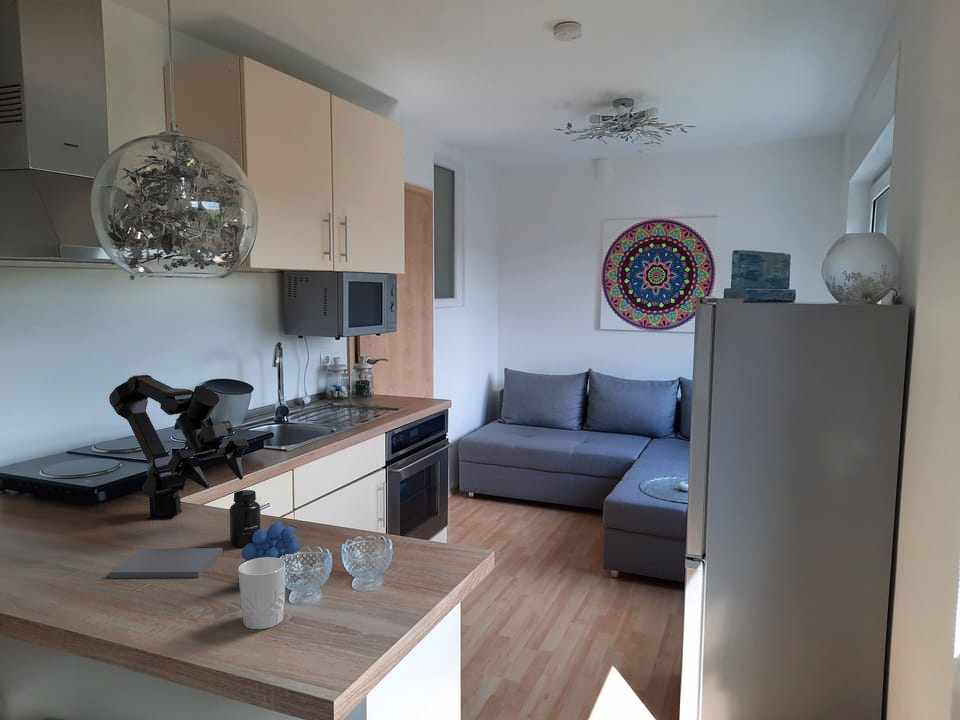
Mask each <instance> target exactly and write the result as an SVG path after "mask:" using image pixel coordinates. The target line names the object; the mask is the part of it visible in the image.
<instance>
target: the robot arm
mask: <svg viewBox="0 0 960 720" xmlns="http://www.w3.org/2000/svg"><path fill="white" fill-rule="evenodd" d="M148 399H151V400H153V401H155V402H157V403H159V405H160V406H159V407H160V410H162V411H163V412H164V413H165V414H166V415H168V416H173V415H178V418H176V419H175V424H174V427H173V428H174V430H175V431H178V430H180V431H181V433H182V435H183V436H184V438H185V440H186V441H185V443H184V445H185V447H186V448H185V449H183V448H182V449H179V450H176V451H175V452H174V453H173V454H171V455H170V454H168V452H167V450H166V449H165V446H164V444H163V442H162V440H161V438H160V437H159V434H158V433H157V431H156V428H155V426H154V425H153V423H152V420H151V419H150V417H149V414H148V413H147V407H148V402H149V401H148ZM108 400H109V404H110V406H111V407H112V408H113V410H114V412H115V413H116V414H117V415H118V416H120V417H122V418H123V419H125V420H126V421H127V422H128V424H129V426H130V428H131V430H132V433H133V434H134V436H135V439H136V441H137V442H138V444H139V446H140V449H141V450H142V452H143V454H144V456H145V459H146V461H147V463H148V466H147V470H146V477H147V478H146V480H145V481H144V482H143V485H142V487H141V489H142V494H143V495H144V496H146V497H149V500H148V501H149V515H148V516H147V517H146V519H147V520H171V519H174V518H175V517H176V516H178V515H179V514H180V513H182V512H183V509H182V506H181V505H182V504H181V496H179V492H180V491H184V489H185V484H186V478H187V479H189V480H191V481H192V482H195V483H196V484H198V485H199V486H201V487H202V488H204V489H208V488H209V487H210V484H209V482H208V479H207V478H206V476H205V474H204V473H203V471H202V468H201V467H200V465H199V464H200V463H199V461H204V460H205V461H206V460H209V459H214V458H218V457H223V458H224V460H225V461H226V462H225V463H226V465H227V466H228V468H229V469H230V470H231V471H232V473H233V474H234V475H235V477H237V478H238V479H239V480H240V481H241V480H243V478H244V473H243V464H242V463H243V462H242V456H243V454H244V453H246V451H247V449H248V448H249V445H250V444H249V443H248V441H247V439H245V438H242V437H240V438H235V439H231V440H229V441H228V443H226V446H223V447H220V445H222V444H223V442H224V440H223V439H225V438H226V437H229V436H230V434H232V433H234V430H235V429H234V426H233V424H232V422H231V421H230V420H223V421H222V422H220V423H217V424H214V425H213V424H212V425H209V426H208V424H207V423H206V420H208V419H210V417H211V415H212V413H213V412H214V410H215V409H216V407H217V406H218V404H219V402H220V396H219V394H218V393H216V392H215V391H213V389H209V388H206V386H205V385H204V384H203V385H195V388H194V390H192V389H187V388H175V387H172V386H170V385H168V384H165V383H164V382H161V381H159V380H157V379H155V378H153V377H152V376H151V375H149V374H140V375H132V376H129V377H128V379H127V380H126V381H125V382H123V383H121V384H119V385H117V386H116V387H115V388H114V389H113V390H112V392H111V393H110V394H109V398H108Z"/></svg>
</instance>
